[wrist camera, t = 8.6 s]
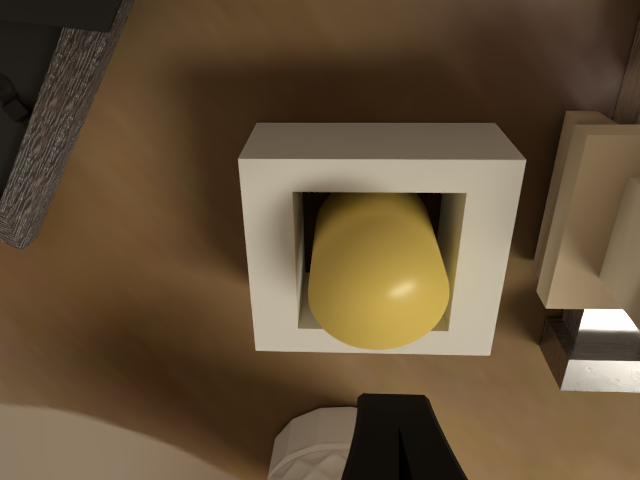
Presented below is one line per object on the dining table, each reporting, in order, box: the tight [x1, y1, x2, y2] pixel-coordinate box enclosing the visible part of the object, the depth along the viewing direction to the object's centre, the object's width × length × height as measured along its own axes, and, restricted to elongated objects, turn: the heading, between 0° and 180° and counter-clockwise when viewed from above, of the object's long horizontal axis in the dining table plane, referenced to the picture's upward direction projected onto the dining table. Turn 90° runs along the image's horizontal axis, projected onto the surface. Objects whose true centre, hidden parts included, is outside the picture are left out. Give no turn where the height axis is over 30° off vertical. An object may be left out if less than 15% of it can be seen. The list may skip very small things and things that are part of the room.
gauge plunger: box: [308, 192, 450, 350], centre depth 17 cm, size 4×4×4 cm
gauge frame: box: [238, 123, 526, 356], centre depth 18 cm, size 8×7×4 cm
